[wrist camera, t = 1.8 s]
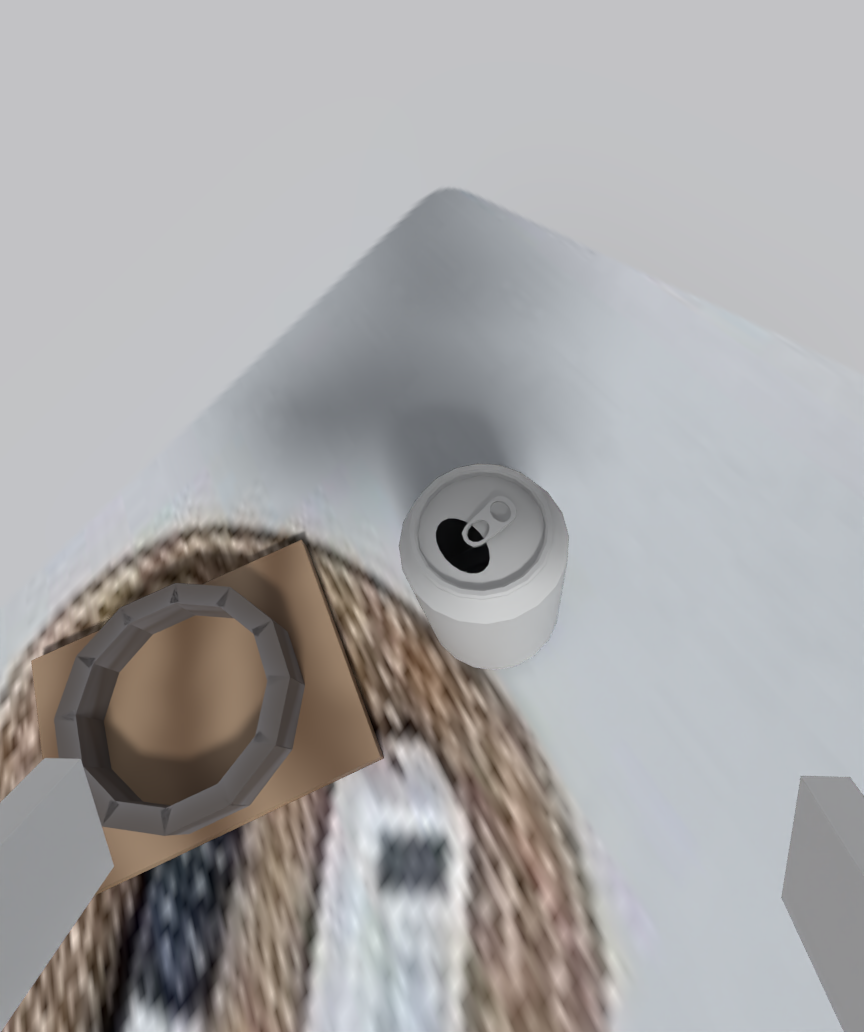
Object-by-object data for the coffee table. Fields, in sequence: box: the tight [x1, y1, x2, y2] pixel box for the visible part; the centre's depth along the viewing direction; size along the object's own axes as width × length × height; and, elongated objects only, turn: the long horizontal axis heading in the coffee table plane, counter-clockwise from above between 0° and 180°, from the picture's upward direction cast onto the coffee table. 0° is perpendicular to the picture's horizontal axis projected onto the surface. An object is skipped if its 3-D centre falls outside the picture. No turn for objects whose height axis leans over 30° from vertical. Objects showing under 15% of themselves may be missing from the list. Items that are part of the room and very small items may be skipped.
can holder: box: [31, 540, 384, 896], centre depth 35 cm, size 18×14×4 cm
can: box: [399, 464, 569, 670], centre depth 31 cm, size 8×8×12 cm
